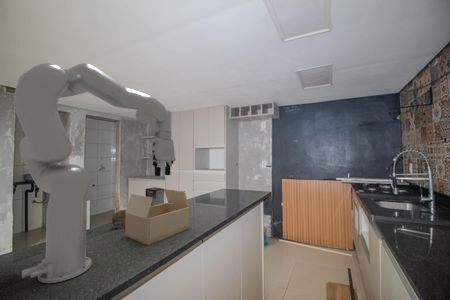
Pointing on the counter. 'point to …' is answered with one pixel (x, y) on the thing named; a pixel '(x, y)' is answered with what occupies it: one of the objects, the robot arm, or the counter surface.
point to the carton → (157, 223)
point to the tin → (119, 219)
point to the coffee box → (155, 195)
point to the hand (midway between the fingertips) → (162, 175)
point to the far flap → (176, 197)
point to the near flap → (139, 205)
